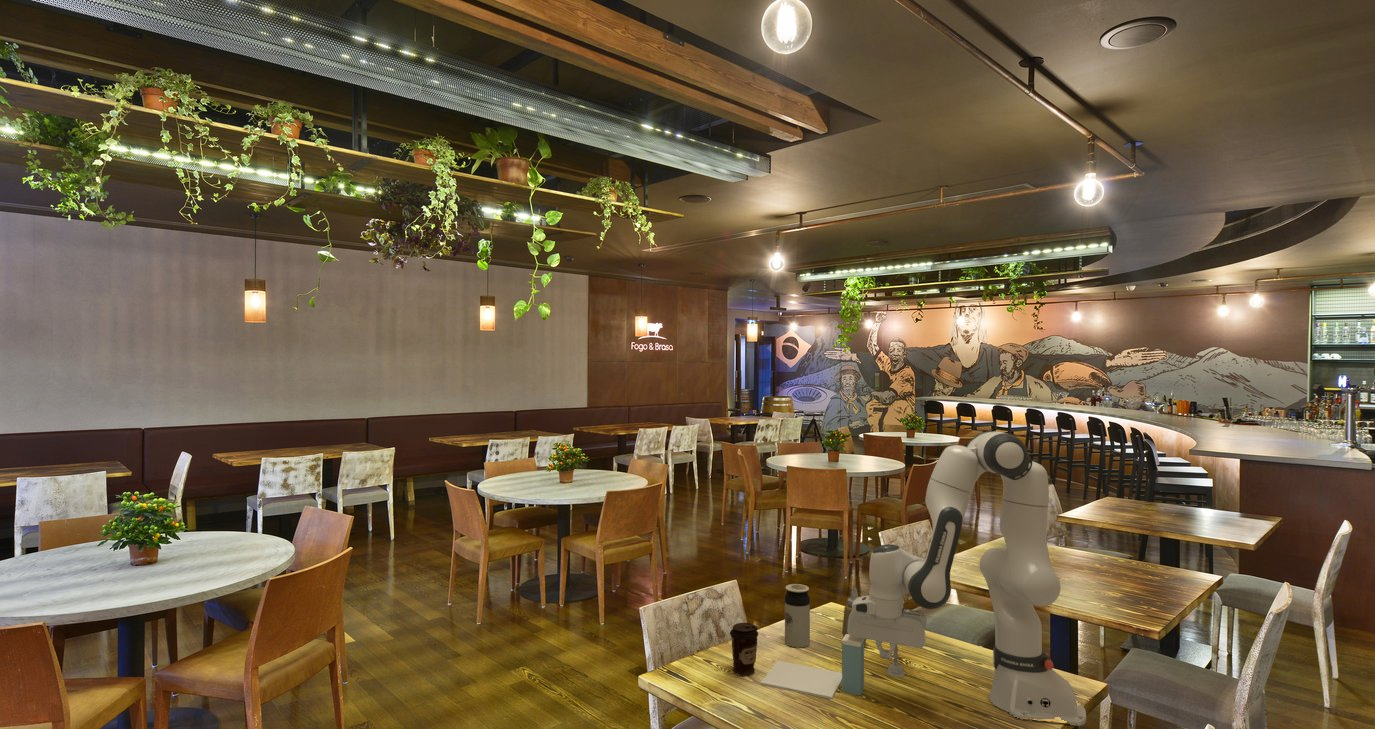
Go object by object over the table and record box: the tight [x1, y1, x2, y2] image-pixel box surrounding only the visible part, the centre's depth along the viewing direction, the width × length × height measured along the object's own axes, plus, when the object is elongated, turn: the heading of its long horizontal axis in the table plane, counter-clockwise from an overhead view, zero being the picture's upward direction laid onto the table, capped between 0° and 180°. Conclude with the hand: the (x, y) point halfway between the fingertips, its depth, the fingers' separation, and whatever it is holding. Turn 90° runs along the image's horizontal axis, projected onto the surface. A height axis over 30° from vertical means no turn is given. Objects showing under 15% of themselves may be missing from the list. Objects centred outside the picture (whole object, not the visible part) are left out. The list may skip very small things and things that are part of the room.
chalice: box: [886, 644, 906, 678], centre depth 197 cm, size 7×7×18 cm
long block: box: [841, 634, 865, 696], centre depth 186 cm, size 5×5×14 cm
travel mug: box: [784, 583, 811, 649], centre depth 219 cm, size 8×8×18 cm
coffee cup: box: [729, 622, 759, 676], centre depth 198 cm, size 9×8×13 cm
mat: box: [760, 660, 842, 700], centre depth 192 cm, size 20×16×1 cm
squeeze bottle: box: [841, 587, 867, 646], centre depth 218 cm, size 8×8×18 cm
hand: (885, 657), depth 182 cm, fingers closed
